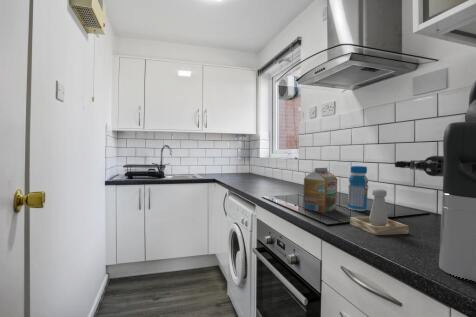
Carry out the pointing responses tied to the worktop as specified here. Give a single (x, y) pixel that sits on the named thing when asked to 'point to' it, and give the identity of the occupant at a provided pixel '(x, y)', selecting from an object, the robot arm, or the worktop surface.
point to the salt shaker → (378, 208)
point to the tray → (390, 228)
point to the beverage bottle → (358, 189)
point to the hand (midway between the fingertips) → (405, 164)
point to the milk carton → (320, 191)
